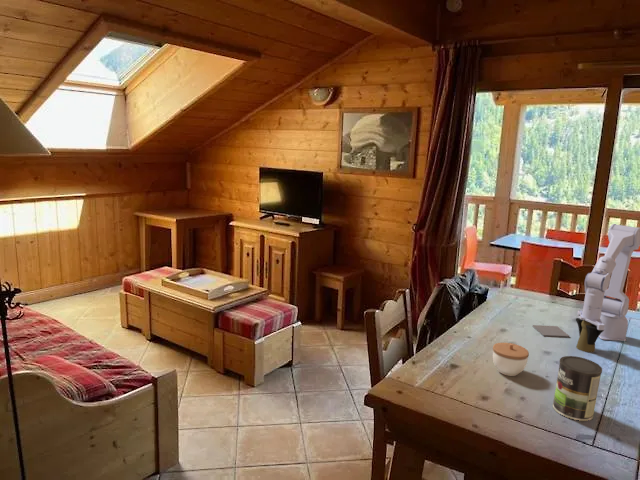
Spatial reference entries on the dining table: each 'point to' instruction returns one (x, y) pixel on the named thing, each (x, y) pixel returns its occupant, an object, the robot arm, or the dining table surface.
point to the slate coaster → (550, 331)
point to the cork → (584, 339)
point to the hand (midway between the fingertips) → (586, 341)
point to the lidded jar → (509, 358)
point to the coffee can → (577, 388)
